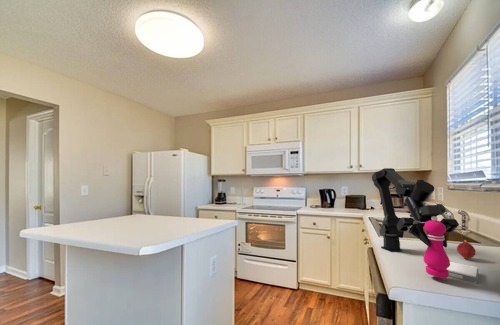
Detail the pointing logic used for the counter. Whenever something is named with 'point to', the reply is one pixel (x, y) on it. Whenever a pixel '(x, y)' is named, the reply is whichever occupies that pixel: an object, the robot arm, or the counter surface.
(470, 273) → the kitchen scale
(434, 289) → the counter surface
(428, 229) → the pepper mill
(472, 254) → the onion
